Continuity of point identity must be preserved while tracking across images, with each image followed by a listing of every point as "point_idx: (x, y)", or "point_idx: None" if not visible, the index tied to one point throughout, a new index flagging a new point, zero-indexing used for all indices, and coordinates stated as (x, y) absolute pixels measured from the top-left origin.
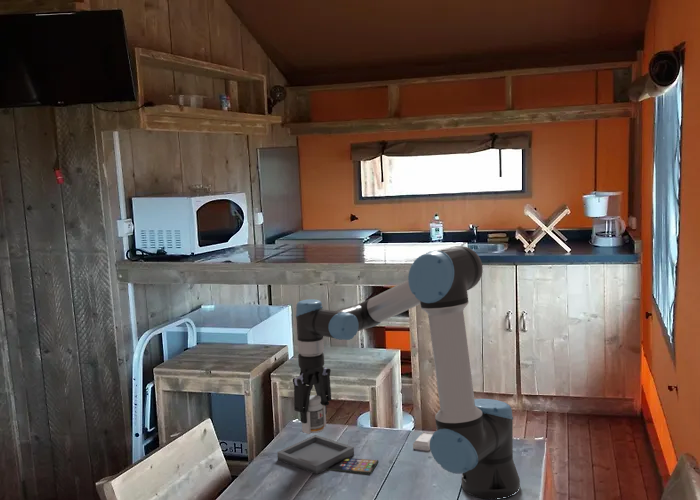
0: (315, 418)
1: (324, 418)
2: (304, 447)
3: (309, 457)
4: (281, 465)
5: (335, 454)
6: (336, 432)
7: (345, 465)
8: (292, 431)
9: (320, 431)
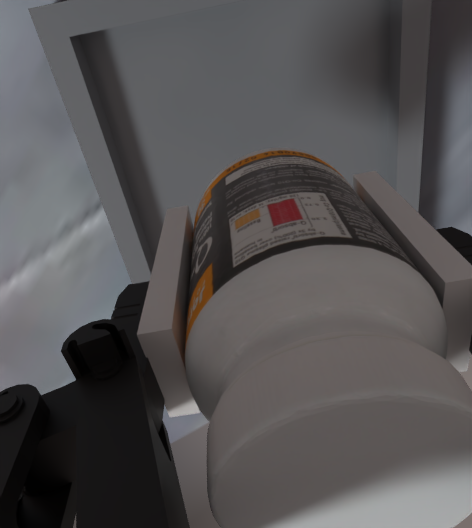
0: (353, 207)
1: (175, 242)
2: None
3: (307, 145)
4: (433, 192)
5: (205, 1)
6: (9, 319)
7: None
8: (173, 419)
9: (271, 148)
